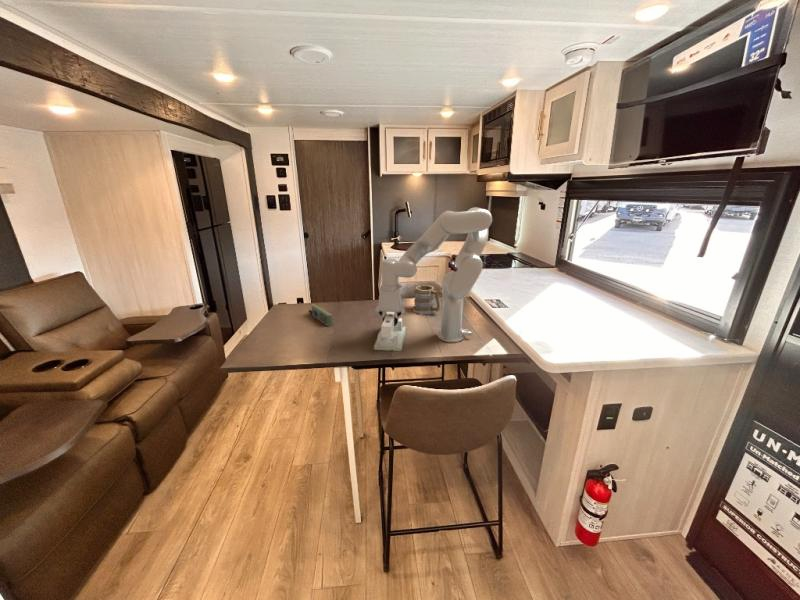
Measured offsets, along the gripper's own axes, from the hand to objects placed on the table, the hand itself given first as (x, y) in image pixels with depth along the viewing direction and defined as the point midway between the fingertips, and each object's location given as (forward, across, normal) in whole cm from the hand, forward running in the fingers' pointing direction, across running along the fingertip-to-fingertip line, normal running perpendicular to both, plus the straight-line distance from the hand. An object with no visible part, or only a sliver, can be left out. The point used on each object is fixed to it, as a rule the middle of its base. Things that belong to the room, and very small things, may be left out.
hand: (390, 324), depth 144 cm
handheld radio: (+8, +41, -20) cm, 47 cm away
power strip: (0, 0, 0) cm, 0 cm away
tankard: (+7, -17, -35) cm, 40 cm away
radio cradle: (+7, 0, 0) cm, 7 cm away
